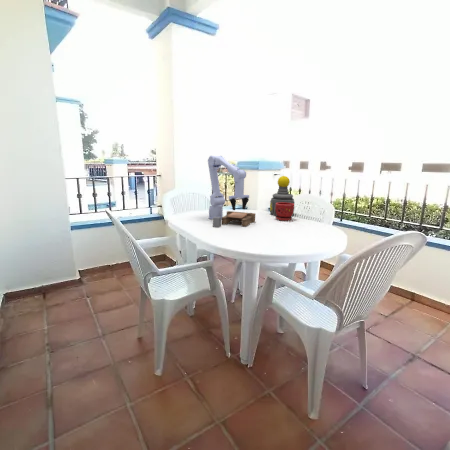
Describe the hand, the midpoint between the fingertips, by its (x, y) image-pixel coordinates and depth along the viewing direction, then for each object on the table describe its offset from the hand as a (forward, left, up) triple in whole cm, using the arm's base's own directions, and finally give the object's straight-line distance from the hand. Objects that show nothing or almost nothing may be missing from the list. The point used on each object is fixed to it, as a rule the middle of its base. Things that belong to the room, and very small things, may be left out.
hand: (238, 209), depth 181 cm
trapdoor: (-1, +2, -5) cm, 5 cm away
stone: (-10, -12, -10) cm, 19 cm away
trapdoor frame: (-1, +2, -10) cm, 10 cm away
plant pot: (+26, +27, -10) cm, 38 cm away
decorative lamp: (+21, +45, -10) cm, 50 cm away
